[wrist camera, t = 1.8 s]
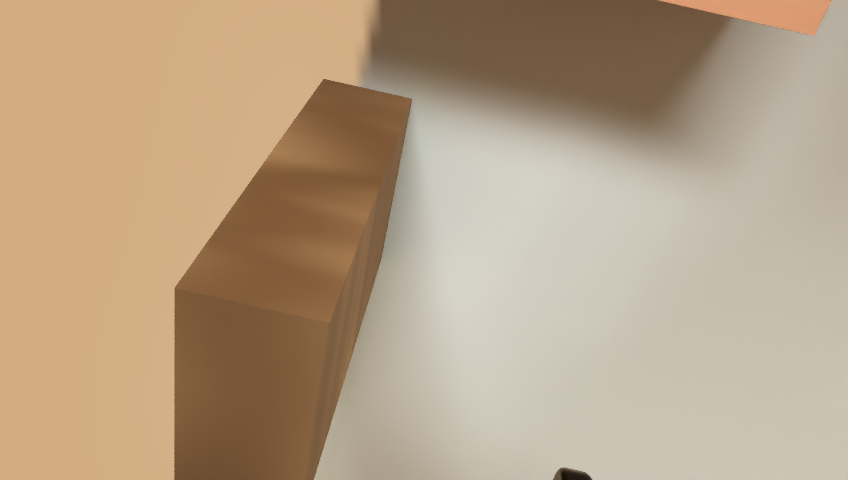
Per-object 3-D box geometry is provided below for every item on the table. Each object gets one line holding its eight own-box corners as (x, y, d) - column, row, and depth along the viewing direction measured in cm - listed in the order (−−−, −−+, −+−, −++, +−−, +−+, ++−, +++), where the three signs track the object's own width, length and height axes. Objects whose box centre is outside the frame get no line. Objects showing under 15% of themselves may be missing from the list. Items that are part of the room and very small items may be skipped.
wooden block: (411, 99, 16) (329, 323, 9) (380, 260, 18) (297, 533, 11) (323, 78, 16) (175, 287, 9) (304, 242, 18) (174, 505, 11)
